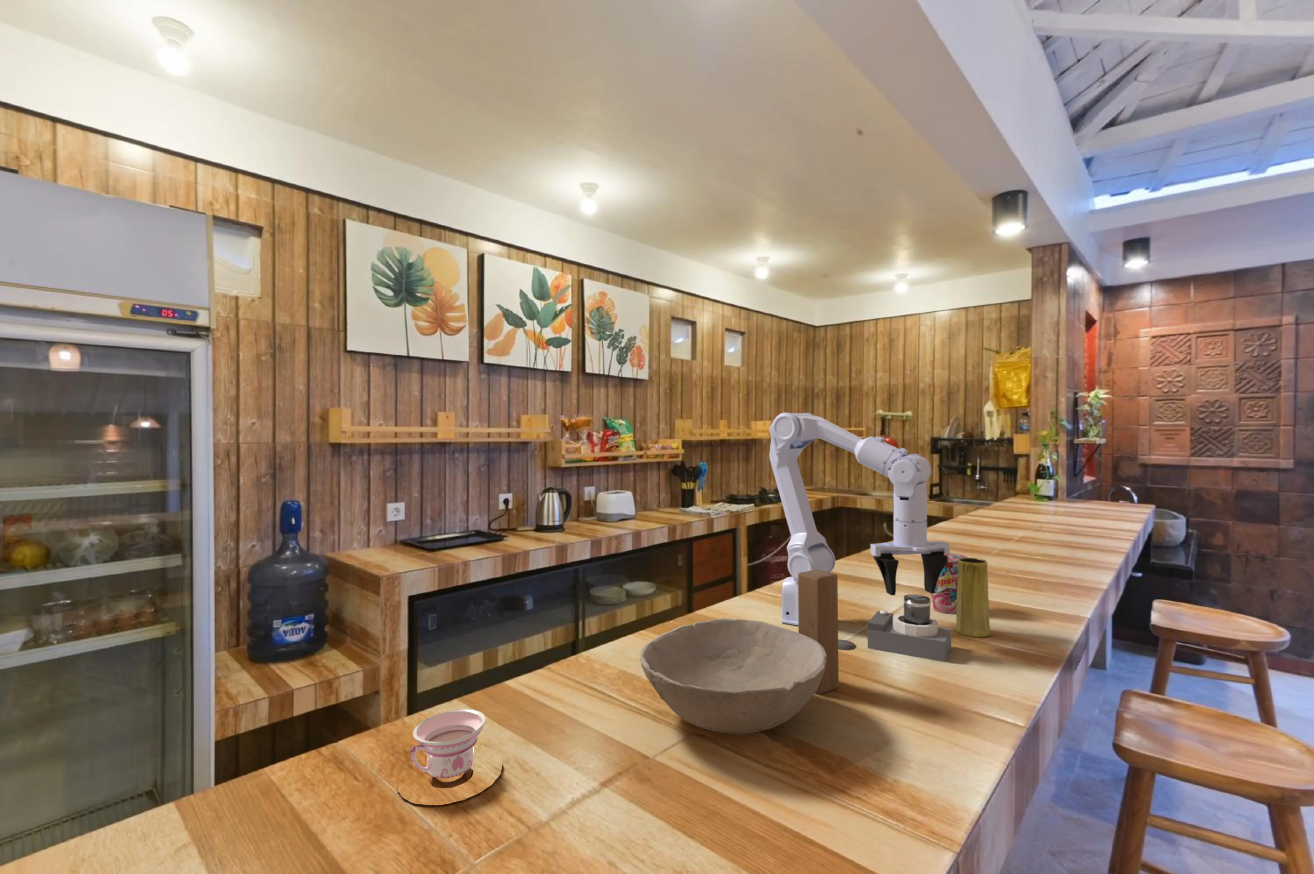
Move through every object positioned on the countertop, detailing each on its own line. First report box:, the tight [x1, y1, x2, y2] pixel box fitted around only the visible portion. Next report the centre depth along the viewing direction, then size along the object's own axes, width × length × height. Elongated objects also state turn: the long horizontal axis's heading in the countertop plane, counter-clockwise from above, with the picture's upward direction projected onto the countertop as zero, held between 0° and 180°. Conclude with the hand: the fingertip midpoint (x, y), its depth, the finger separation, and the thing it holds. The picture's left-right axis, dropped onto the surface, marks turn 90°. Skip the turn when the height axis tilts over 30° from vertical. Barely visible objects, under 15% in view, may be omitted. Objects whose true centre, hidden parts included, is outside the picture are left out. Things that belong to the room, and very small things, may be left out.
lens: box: [903, 593, 931, 625], centre depth 110 cm, size 4×4×6 cm
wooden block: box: [797, 569, 840, 695], centre depth 97 cm, size 9×4×18 cm, turn 33°
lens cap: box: [838, 639, 856, 651], centre depth 113 cm, size 5×5×1 cm
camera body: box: [867, 610, 952, 663], centre depth 111 cm, size 13×8×5 cm, turn 57°
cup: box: [930, 552, 970, 615], centre depth 133 cm, size 9×8×12 cm
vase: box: [955, 557, 991, 638], centre depth 118 cm, size 6×6×14 cm
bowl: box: [639, 618, 827, 736], centre depth 85 cm, size 26×26×10 cm
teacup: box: [409, 708, 486, 779], centre depth 72 cm, size 12×12×6 cm
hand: (910, 592), depth 112 cm, fingers open, 7 cm apart
